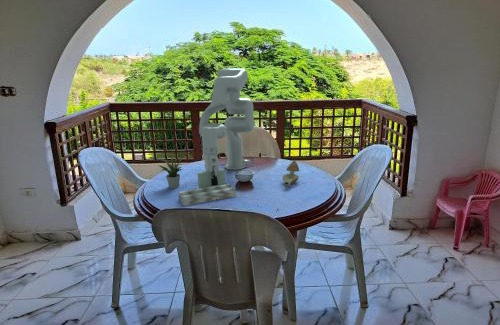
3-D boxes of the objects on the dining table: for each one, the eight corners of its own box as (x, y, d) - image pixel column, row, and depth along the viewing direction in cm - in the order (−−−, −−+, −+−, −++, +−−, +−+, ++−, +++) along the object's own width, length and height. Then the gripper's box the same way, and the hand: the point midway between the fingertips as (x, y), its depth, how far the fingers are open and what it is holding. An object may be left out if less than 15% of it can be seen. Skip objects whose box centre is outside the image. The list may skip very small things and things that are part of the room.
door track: (229, 189, 173) (229, 183, 172) (236, 196, 164) (236, 189, 163) (178, 197, 163) (178, 191, 162) (183, 205, 155) (183, 198, 154)
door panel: (224, 184, 180) (223, 168, 178) (225, 186, 178) (224, 169, 176) (198, 188, 175) (197, 172, 173) (199, 190, 173) (198, 173, 170)
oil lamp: (301, 177, 190) (302, 160, 187) (294, 190, 170) (294, 171, 168) (286, 176, 192) (286, 159, 190) (277, 188, 173) (277, 170, 170)
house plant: (179, 179, 189) (177, 151, 185) (194, 185, 180) (192, 155, 175) (156, 186, 180) (153, 156, 175) (170, 192, 170) (168, 161, 166)
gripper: (222, 153, 165) (224, 186, 170) (212, 146, 180) (213, 176, 185) (208, 155, 162) (209, 189, 167) (198, 147, 177) (200, 178, 182)
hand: (211, 182), depth 176 cm, fingers open, 9 cm apart
